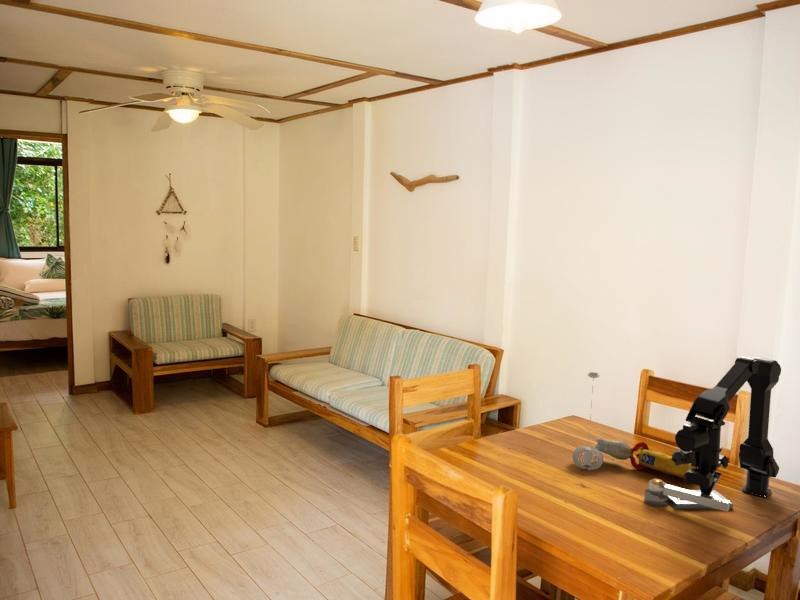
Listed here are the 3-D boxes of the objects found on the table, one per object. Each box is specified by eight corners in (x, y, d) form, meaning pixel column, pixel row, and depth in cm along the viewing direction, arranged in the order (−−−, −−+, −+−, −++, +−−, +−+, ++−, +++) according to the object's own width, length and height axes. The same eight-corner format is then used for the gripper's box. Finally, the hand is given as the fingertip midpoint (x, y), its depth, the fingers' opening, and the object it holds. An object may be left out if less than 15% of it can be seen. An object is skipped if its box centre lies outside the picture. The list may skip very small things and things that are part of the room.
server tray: (676, 509, 176) (676, 502, 176) (660, 495, 185) (660, 488, 185) (732, 508, 177) (733, 502, 177) (714, 494, 186) (714, 488, 186)
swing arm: (646, 491, 180) (646, 481, 179) (651, 487, 183) (651, 476, 183) (726, 513, 167) (727, 502, 167) (730, 508, 171) (731, 496, 170)
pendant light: (599, 462, 209) (605, 370, 205) (605, 473, 200) (612, 377, 196) (569, 460, 210) (575, 369, 206) (574, 471, 200) (580, 376, 197)
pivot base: (648, 495, 184) (649, 486, 184) (670, 501, 181) (671, 492, 180) (640, 502, 180) (641, 493, 180) (663, 508, 176) (663, 499, 176)
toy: (702, 451, 201) (605, 423, 216) (696, 464, 190) (594, 434, 205) (697, 478, 202) (600, 448, 218) (690, 492, 192) (589, 460, 207)
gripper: (687, 427, 184) (684, 480, 187) (664, 446, 170) (662, 503, 173) (730, 436, 177) (726, 490, 179) (710, 456, 163) (707, 515, 165)
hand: (705, 499), depth 174 cm, fingers closed
